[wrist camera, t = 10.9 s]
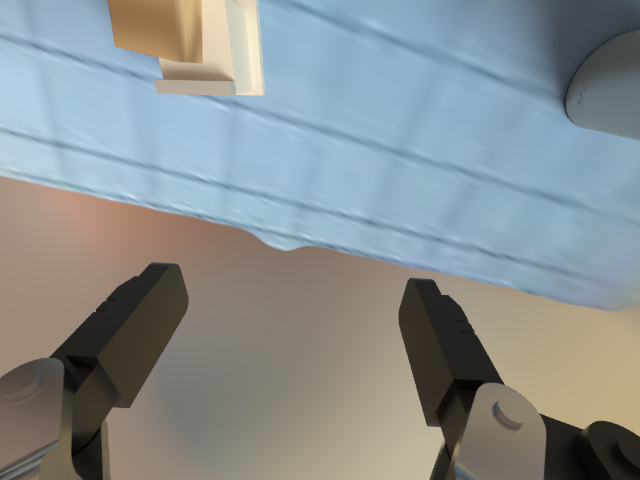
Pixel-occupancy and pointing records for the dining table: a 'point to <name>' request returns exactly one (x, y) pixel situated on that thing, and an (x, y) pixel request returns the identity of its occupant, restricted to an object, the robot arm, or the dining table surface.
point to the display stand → (221, 54)
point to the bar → (159, 28)
